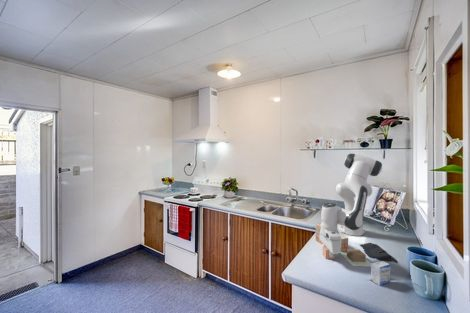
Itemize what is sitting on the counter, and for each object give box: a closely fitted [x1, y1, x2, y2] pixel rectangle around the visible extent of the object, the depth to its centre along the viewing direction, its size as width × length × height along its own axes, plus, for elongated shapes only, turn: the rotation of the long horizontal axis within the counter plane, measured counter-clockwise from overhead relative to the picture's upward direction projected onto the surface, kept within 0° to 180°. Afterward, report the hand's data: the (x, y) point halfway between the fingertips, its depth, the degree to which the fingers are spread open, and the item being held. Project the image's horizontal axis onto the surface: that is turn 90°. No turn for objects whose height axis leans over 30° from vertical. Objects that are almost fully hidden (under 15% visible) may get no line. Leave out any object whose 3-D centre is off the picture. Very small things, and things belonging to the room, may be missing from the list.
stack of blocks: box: [315, 222, 349, 252], centre depth 145 cm, size 21×6×12 cm, turn 24°
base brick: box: [346, 248, 367, 262], centre depth 126 cm, size 7×7×4 cm
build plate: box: [339, 251, 373, 267], centre depth 126 cm, size 16×12×1 cm
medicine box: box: [370, 260, 391, 286], centre depth 106 cm, size 8×4×9 cm, turn 114°
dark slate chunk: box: [359, 242, 398, 264], centre depth 135 cm, size 15×22×5 cm
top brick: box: [322, 245, 336, 260], centre depth 128 cm, size 5×5×6 cm
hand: (328, 254), depth 128 cm, fingers closed on top brick, 5 cm apart
